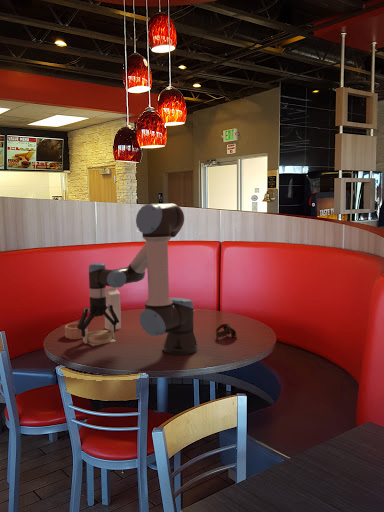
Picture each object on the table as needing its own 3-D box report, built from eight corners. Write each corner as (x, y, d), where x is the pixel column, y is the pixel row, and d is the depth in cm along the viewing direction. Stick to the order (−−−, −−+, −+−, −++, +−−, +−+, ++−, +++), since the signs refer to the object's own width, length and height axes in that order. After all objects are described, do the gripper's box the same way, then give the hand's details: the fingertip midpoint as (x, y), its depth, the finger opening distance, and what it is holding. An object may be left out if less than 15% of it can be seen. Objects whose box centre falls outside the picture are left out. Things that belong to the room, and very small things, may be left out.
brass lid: (115, 340, 221) (115, 333, 220) (92, 345, 214) (92, 338, 213) (105, 335, 230) (104, 328, 230) (82, 339, 223) (82, 332, 223)
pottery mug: (238, 342, 220) (231, 328, 218) (220, 350, 223) (212, 336, 220) (238, 329, 232) (230, 316, 229) (221, 336, 234) (213, 323, 231)
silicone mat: (116, 341, 221) (116, 340, 221) (92, 346, 214) (92, 345, 214) (105, 335, 230) (105, 334, 230) (82, 340, 223) (82, 339, 223)
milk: (121, 329, 241) (120, 287, 238) (111, 331, 237) (110, 288, 234) (114, 326, 246) (113, 285, 243) (104, 329, 242) (103, 286, 239)
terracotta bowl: (90, 337, 228) (90, 326, 227) (70, 341, 222) (69, 329, 221) (82, 332, 236) (82, 321, 236) (62, 335, 230) (61, 324, 230)
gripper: (118, 291, 229) (119, 333, 232) (69, 298, 215) (70, 343, 218) (125, 294, 223) (126, 337, 226) (75, 301, 209) (76, 347, 212)
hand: (99, 340), depth 222 cm, fingers open, 13 cm apart
